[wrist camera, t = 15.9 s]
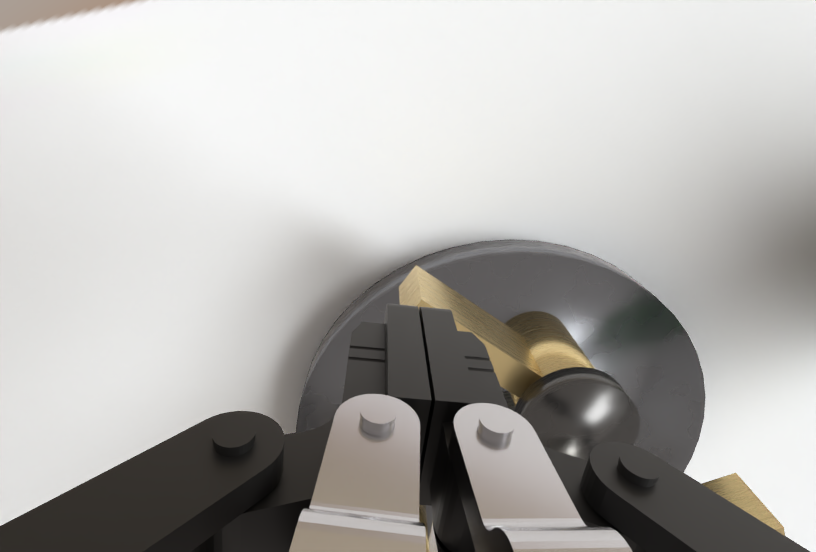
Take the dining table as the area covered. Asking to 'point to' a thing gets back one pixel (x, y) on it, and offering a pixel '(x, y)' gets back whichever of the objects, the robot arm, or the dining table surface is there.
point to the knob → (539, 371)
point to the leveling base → (574, 306)
